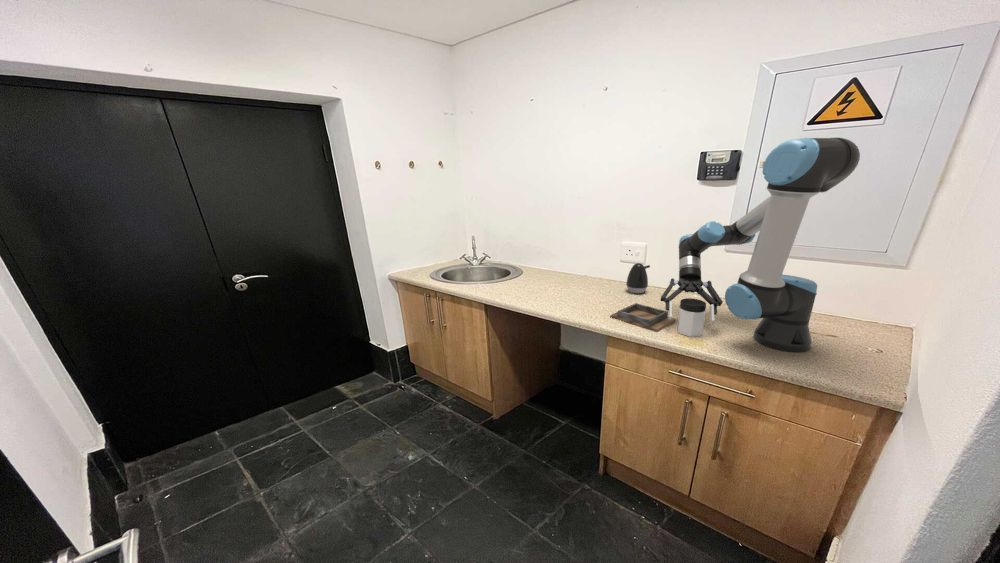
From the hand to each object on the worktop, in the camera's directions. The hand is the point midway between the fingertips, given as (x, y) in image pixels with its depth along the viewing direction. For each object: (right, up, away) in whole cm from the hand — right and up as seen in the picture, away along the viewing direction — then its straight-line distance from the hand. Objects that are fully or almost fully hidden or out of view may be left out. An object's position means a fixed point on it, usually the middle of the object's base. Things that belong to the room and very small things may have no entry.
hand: (690, 320), depth 121 cm
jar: (+1, -5, +3) cm, 6 cm away
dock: (-11, -1, +16) cm, 19 cm away
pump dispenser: (0, +9, +49) cm, 50 cm away
